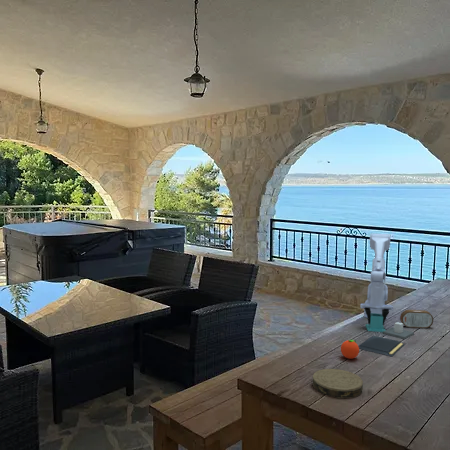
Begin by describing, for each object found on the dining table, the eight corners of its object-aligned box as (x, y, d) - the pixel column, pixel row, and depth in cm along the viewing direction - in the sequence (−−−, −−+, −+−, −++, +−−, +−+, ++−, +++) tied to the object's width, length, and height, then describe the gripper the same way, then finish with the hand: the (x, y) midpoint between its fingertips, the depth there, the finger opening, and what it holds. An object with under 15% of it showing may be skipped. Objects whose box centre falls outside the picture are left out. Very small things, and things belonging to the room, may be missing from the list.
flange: (367, 330, 198) (368, 316, 198) (365, 325, 206) (366, 312, 206) (385, 332, 197) (386, 317, 196) (382, 327, 205) (383, 313, 204)
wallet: (372, 333, 191) (407, 341, 181) (372, 337, 191) (407, 345, 181) (354, 344, 176) (391, 354, 166) (354, 349, 176) (391, 358, 166)
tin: (431, 327, 206) (432, 310, 206) (433, 329, 203) (434, 312, 202) (399, 325, 208) (400, 308, 207) (401, 327, 204) (402, 310, 204)
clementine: (347, 352, 170) (348, 335, 169) (363, 357, 165) (364, 339, 164) (336, 357, 164) (337, 339, 164) (353, 363, 159) (354, 344, 159)
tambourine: (332, 402, 129) (333, 393, 129) (303, 381, 144) (303, 372, 143) (373, 393, 135) (373, 384, 135) (341, 374, 150) (341, 366, 150)
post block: (382, 333, 195) (383, 323, 194) (392, 329, 202) (393, 318, 201) (404, 339, 187) (405, 328, 187) (413, 334, 194) (414, 323, 194)
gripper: (362, 296, 198) (360, 325, 199) (395, 298, 195) (393, 327, 196) (360, 293, 205) (359, 321, 206) (392, 295, 202) (390, 323, 203)
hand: (375, 324), depth 201 cm, fingers open, 5 cm apart
